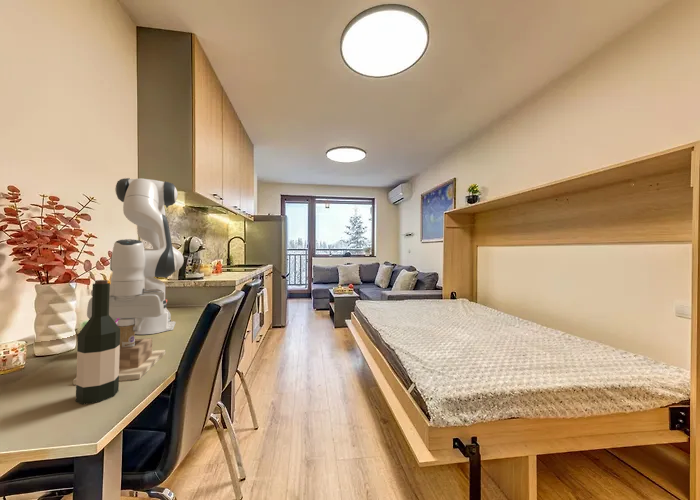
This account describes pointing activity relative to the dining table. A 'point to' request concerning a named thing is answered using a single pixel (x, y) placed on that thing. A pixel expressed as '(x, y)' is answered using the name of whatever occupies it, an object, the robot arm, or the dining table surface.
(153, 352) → the holder board
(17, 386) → the dining table surface
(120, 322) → the sprinkles bottle
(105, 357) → the wine bottle
